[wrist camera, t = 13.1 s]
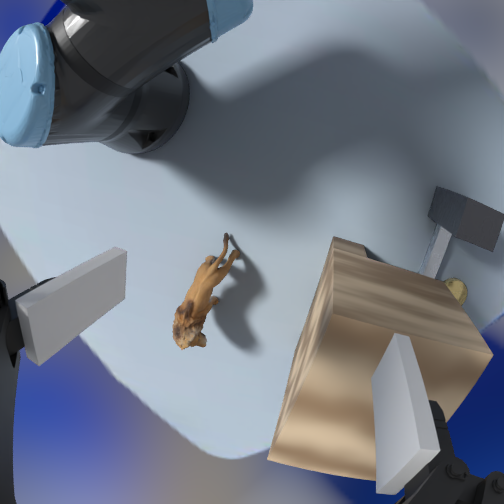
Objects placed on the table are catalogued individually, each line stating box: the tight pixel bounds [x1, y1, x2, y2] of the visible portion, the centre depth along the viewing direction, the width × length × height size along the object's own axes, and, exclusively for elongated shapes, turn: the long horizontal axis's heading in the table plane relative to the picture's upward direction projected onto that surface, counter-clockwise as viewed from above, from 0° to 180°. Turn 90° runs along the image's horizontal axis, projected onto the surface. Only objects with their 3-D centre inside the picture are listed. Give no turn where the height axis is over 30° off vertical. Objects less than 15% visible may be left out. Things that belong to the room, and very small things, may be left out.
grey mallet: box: [419, 186, 504, 279], centre depth 32 cm, size 22×5×10 cm, turn 167°
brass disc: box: [444, 278, 467, 306], centre depth 36 cm, size 4×4×1 cm
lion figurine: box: [173, 233, 240, 350], centre depth 41 cm, size 15×5×9 cm, turn 164°
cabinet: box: [267, 236, 493, 481], centre depth 32 cm, size 18×15×20 cm
